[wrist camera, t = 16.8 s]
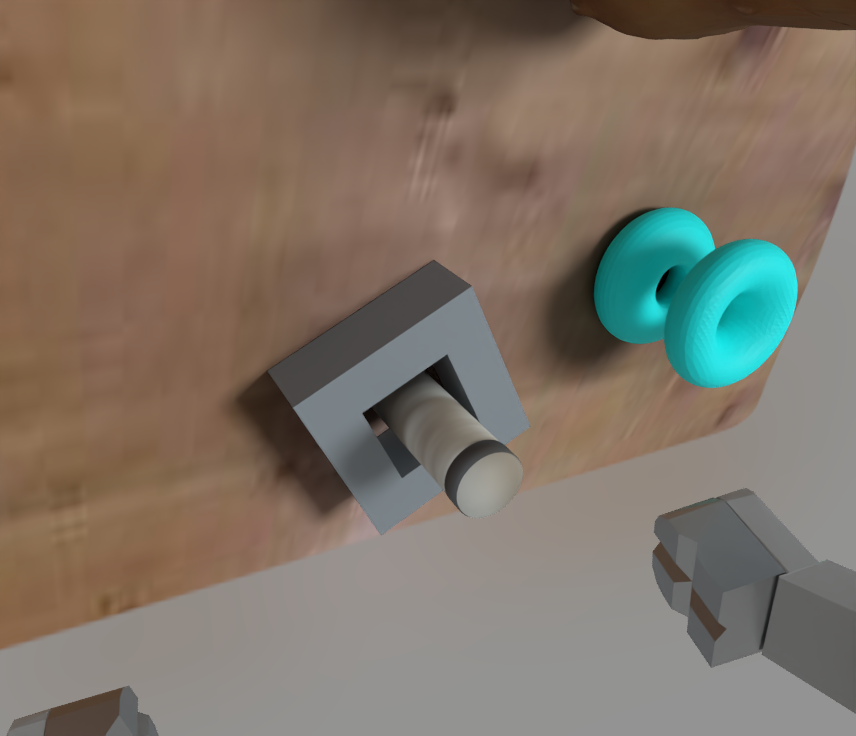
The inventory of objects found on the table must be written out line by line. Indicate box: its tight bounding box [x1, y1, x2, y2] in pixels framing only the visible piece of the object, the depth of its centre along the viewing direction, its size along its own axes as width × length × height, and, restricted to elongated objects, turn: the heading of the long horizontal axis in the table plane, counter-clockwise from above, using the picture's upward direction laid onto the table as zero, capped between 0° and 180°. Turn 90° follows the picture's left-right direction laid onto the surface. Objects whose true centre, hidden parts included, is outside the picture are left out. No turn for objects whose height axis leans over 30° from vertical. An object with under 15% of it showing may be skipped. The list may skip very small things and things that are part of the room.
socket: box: [268, 260, 530, 535], centre depth 48 cm, size 12×12×4 cm
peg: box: [372, 371, 523, 518], centre depth 45 cm, size 4×4×12 cm
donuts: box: [594, 208, 797, 388], centre depth 52 cm, size 10×10×10 cm
